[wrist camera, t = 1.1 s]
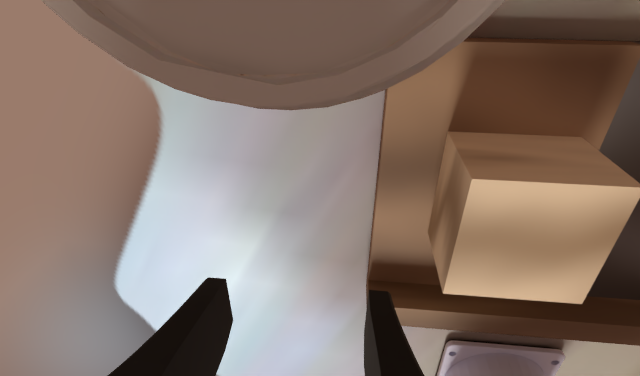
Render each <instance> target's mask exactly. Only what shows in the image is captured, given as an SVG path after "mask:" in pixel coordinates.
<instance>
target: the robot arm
mask: <svg viewBox="0 0 640 376" xmlns="http://www.w3.org/2000/svg"><path fill="white" fill-rule="evenodd" d="M232 322H233V317H232V311H231V306H230V300H229V294H228V288H227V283H226V279H220V278H207V279H206V280H205V281H204V282H203V283H202V284H201V285H200V286H199V287H198V289H197V290H196V291H195V292H194V293H193V294H192V295H191V296H190V297H189V298H188V300H187V301H186V302H185V303H184V304H183V305H182V306H181V307H180V308H179V309H178V310H177V311H176V312H175V313H174V314H173V315H172V316H171V318H170V319H169V320H168V321H167V322H166V323H165V324H164V325H163V326H162V327H161V328H160V329H159V330H158V331H157V332H156V333H155V334H154V335H153V336H152V337H150V338H149V339H148V340H147V341H146V342H145V343H144V344H143V345H142V346H141V347H140V348H139V349H138V350H137V351H136V352H135V353H133V354H132V355H131V356H130V357H129V358H128V359H127V360H126V361H124V362H123V363H122V364H121V365H120V366H119V367H117V368H116V369H115V370H114V371H113V372H111V373H110V374H109V375H108V376H215V375H216V373H217V370H218V367H219V365H220V362H221V360H222V357H223V354H224V352H225V349H226V345H227V341H228V338H229V334H230V330H231V326H232ZM564 359H565V355H564V353H563V351H561V350H559V349H549V348H537V347H526V346H514V345H502V344H491V343H479V342H467V341H455V340H451V341H449V342H447V343H446V345H445V349H444V352H443V355H442V359H441V362H440V366H439V369H438V373H437V376H555V375H556V373H557V371H558V369H559V368H560V366H561V364H562V362H563V361H564ZM364 369H365V376H424V374H423V372H422V370H421V368H420V366H419V364H418V362H417V360H416V358H415V356H414V354H413V352H412V350H411V347H410V345H409V343H408V341H407V339H406V336H405V334H404V332H403V329H402V327H401V324H400V321H399V319H398V316H397V313H396V310H395V307H394V304H393V301H392V297H391V294H390V293H389V292H388V291H378V290H369V292H368V302H367V311H366V321H365V330H364Z"/></svg>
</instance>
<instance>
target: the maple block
mask: <svg viewBox="0 0 640 376" xmlns="http://www.w3.org/2000/svg"><path fill="white" fill-rule="evenodd" d="M639 199H640V183H639V182H637V181H636V180H635V179H634V178H632V177H631V176H630V175H628V174H627V173H626V172H625V171H623V170H622V169H621V168H620V167H618V166H617V165H616V164H615V163H613V162H612V161H611V160H610V159H608V158H607V157H606V156H605V155H603V154H602V153H601V152H600V151H598V150H597V149H596V148H595V147H593V146H592V145H591V144H590V143H588V142H587V141H586V140H585V139H583V138H582V137H568V136H544V135H520V134H496V133H473V132H449V131H448V133H447V138H446V143H445V148H444V153H443V158H442V163H441V168H440V173H439V178H438V183H437V188H436V193H435V198H434V203H433V208H432V213H431V218H430V223H429V228H428V235H429V239H430V243H431V247H432V251H433V256H434V260H435V264H436V268H437V272H438V276H439V280H440V284H441V288H442V292H443V294H454V295H468V296H481V297H494V298H507V299H520V300H534V301H547V302H560V303H573V304H582V303H583V301H584V300H585V298H586V296H587V294H588V292H589V290H590V289H591V287H592V285H593V283H594V281H595V279H596V278H597V276H598V274H599V272H600V270H601V268H602V267H603V265H604V263H605V261H606V259H607V257H608V255H609V254H610V252H611V250H612V248H613V246H614V244H615V243H616V241H617V239H618V237H619V235H620V233H621V232H622V230H623V228H624V226H625V224H626V222H627V221H628V219H629V217H630V215H631V213H632V211H633V210H634V208H635V206H636V204H637V202H638V200H639Z"/></svg>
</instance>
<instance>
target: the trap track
mask: <svg viewBox="0 0 640 376" xmlns="http://www.w3.org/2000/svg"><path fill="white" fill-rule="evenodd" d="M448 131H449V132H473V133H496V134H520V135H544V136H568V137H582V138H583V139H585V140H586V141H587V142H588V143H590V144H591V145H592V146H593V147H595V148H596V149H597V150H598V151H600V152H601V153H602V154H603V155H605V156H606V157H607V158H608V159H610V160H611V161H612V162H613V163H615V164H616V165H617V166H618V167H620V168H621V169H622V170H623V171H625V172H626V173H627V174H628V175H630V176H631V177H632V178H634V179H635V180H636V181H637V182H639V183H640V41H596V40H551V39H506V38H466V39H465V40H464V41H463V42H462V43H460V44H459V45H458V46H456V47H455V48H453V49H452V50H451V51H449V52H448V53H446V54H445V55H444V56H442V57H441V58H439V59H438V60H437V61H435V62H434V63H432V64H431V65H430V66H428V67H427V68H425V69H424V70H423V71H421V72H419V73H417V74H415V75H413V76H411V77H409V78H407V79H405V80H403V81H401V82H399V83H397V84H396V85H394V86H392V87H390V88H388V89H386V92H385V103H384V113H383V123H382V133H381V143H380V153H379V163H378V173H377V183H376V193H375V203H374V213H373V223H372V233H371V243H370V254H369V264H368V274H367V284H366V297H367V302H368V292H369V290H378V291H388V292H389V293H390V294H391V297H392V301H393V304H394V307H395V310H396V313H397V316H398V319H399V321H400V324H401V326H411V327H423V328H435V329H447V330H459V331H471V332H483V333H495V334H507V335H519V336H531V337H543V338H555V339H567V340H579V341H591V342H603V343H615V344H627V345H639V346H640V199H639V200H638V202H637V204H636V206H635V208H634V210H633V211H632V213H631V215H630V217H629V219H628V221H627V222H626V224H625V226H624V228H623V230H622V232H621V233H620V235H619V237H618V239H617V241H616V243H615V244H614V246H613V248H612V250H611V252H610V254H609V255H608V257H607V259H606V261H605V263H604V265H603V267H602V268H601V270H600V272H599V274H598V276H597V278H596V279H595V281H594V283H593V285H592V287H591V289H590V290H589V292H588V294H587V296H586V298H585V300H584V301H583V303H582V304H573V303H560V302H547V301H534V300H520V299H507V298H494V297H481V296H468V295H454V294H443V292H442V288H441V284H440V280H439V276H438V272H437V268H436V264H435V260H434V256H433V251H432V247H431V243H430V239H429V235H428V228H429V223H430V218H431V213H432V208H433V203H434V198H435V193H436V188H437V183H438V178H439V173H440V168H441V163H442V158H443V153H444V148H445V143H446V138H447V133H448Z"/></svg>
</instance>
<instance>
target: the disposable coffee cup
mask: <svg viewBox="0 0 640 376" xmlns="http://www.w3.org/2000/svg"><path fill="white" fill-rule="evenodd" d="M42 1H43V2H44V4H46V5H47V6H48V7H49V8H50V9H51V10H52V11H54V12H55V13H56V14H57V15H58V16H59V17H60V18H62V19H63V20H64V21H65V22H66V23H67V24H68V25H70V26H71V27H72V28H73V29H74V30H75V31H76V32H78V33H79V34H80V35H82V36H84V37H85V38H86V39H88V40H89V41H91V42H92V43H94V44H95V45H97V46H98V47H100V48H101V49H102V50H104V51H105V52H107V53H108V54H110V55H111V56H113V57H114V58H116V59H117V60H119V61H120V62H122V63H123V64H125V65H126V66H127V67H129V68H132V69H134V70H136V71H138V72H140V73H142V74H144V75H146V76H149V77H151V78H153V79H155V80H157V81H159V82H161V83H164V84H166V85H168V86H170V87H172V88H174V89H177V90H180V91H184V92H187V93H190V94H193V95H197V96H200V97H203V98H206V99H210V100H215V101H221V102H227V103H233V104H239V105H244V106H249V107H253V108H258V109H279V110H299V109H310V108H322V107H330V106H333V105H337V104H341V103H345V102H349V101H353V100H357V99H361V98H364V97H367V96H369V95H372V94H375V93H378V92H380V91H383V90H386V89H388V88H390V87H392V86H394V85H396V84H397V83H399V82H401V81H403V80H405V79H407V78H409V77H411V76H413V75H415V74H417V73H419V72H421V71H423V70H424V69H425V68H427V67H428V66H430V65H431V64H432V63H434V62H435V61H437V60H438V59H439V58H441V57H442V56H444V55H445V54H446V53H448V52H449V51H451V50H452V49H453V48H455V47H456V46H458V45H459V44H460V43H462V42H463V41H464V40H465V39H466V38H467V37H468V36H469V35H470V34H471V33H472V32H473V31H474V30H476V29H477V28H478V27H479V26H480V25H481V24H482V23H483V22H484V21H485V20H486V19H487V18H488V17H489V16H490V15H491V14H492V13H493V12H494V11H495V10H496V9H498V8H499V7H500V6H501V5H502V4H503V2H504V1H505V0H42Z"/></svg>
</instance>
